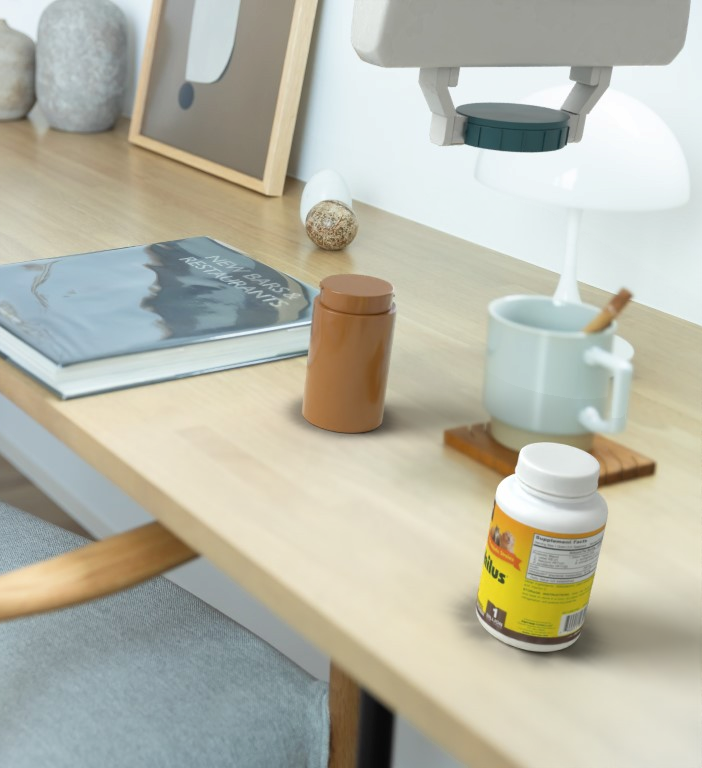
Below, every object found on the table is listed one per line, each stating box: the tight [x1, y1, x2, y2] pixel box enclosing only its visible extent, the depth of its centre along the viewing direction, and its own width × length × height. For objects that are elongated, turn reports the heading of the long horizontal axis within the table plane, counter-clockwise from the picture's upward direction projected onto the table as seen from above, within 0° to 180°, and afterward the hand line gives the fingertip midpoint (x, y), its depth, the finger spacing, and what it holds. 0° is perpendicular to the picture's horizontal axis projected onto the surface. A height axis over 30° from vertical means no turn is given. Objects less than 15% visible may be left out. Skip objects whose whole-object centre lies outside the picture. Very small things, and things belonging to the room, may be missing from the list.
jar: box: [301, 273, 398, 434], centre depth 86 cm, size 6×6×10 cm
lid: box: [455, 101, 570, 154], centre depth 70 cm, size 7×7×2 cm
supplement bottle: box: [475, 441, 609, 653], centre depth 62 cm, size 6×6×10 cm
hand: (504, 143), depth 70 cm, fingers closed on lid, 6 cm apart
